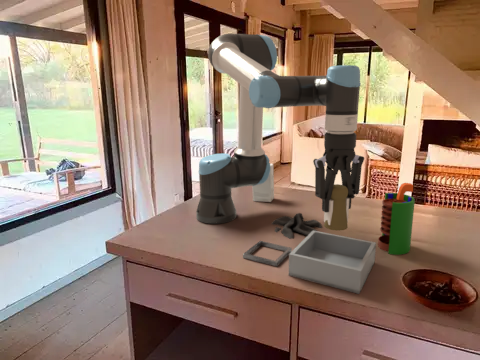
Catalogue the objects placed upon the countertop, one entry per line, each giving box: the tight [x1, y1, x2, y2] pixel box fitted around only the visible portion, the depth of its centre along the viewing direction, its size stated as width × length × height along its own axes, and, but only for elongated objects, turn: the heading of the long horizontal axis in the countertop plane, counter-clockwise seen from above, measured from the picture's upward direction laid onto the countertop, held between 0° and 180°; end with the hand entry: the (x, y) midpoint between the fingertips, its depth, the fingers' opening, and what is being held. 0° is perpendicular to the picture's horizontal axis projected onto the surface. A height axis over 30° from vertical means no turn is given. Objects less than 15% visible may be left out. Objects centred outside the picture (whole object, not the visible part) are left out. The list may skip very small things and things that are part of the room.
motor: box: [377, 182, 416, 256], centre depth 108 cm, size 10×9×20 cm
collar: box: [242, 240, 293, 267], centre depth 106 cm, size 11×11×1 cm
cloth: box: [271, 212, 323, 240], centre depth 124 cm, size 22×19×6 cm
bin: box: [288, 230, 377, 295], centre depth 97 cm, size 18×18×6 cm
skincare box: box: [251, 163, 275, 203], centre depth 155 cm, size 8×7×16 cm
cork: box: [323, 183, 349, 232], centre depth 93 cm, size 6×6×11 cm
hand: (335, 221), depth 94 cm, fingers closed on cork, 4 cm apart
